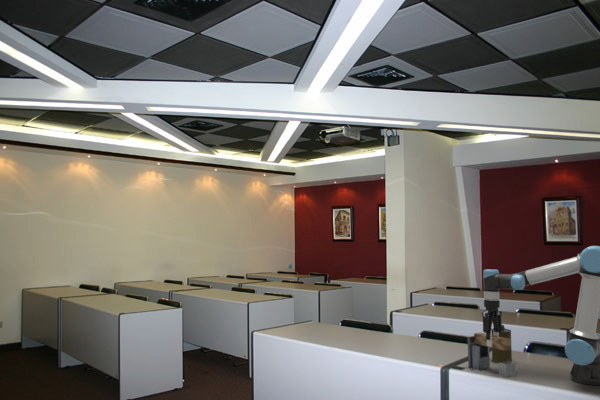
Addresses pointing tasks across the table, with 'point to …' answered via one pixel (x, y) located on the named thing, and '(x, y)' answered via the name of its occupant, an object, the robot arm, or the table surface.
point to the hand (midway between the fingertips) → (492, 345)
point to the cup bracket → (477, 355)
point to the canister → (500, 354)
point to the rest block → (507, 369)
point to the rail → (493, 341)
